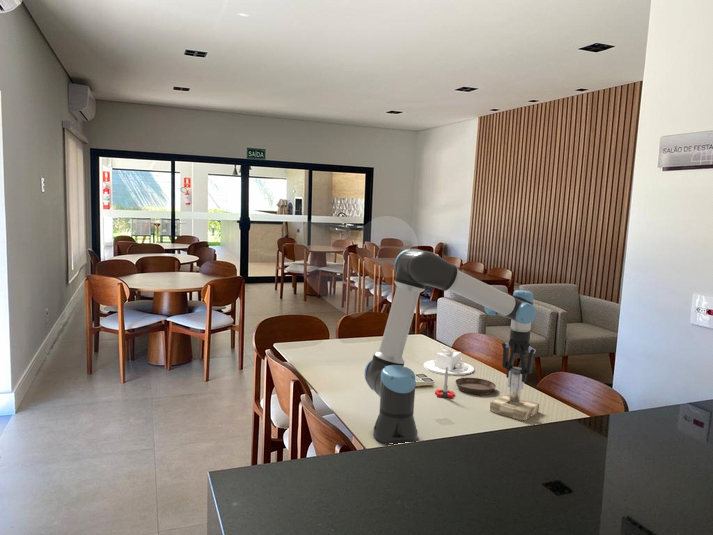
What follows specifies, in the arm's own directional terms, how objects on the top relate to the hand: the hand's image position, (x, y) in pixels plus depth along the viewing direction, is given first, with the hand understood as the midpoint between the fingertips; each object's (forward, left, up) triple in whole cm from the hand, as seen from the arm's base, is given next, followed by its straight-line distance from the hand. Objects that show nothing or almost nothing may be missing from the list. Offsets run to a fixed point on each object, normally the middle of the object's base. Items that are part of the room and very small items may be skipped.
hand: (515, 387), depth 212 cm
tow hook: (-4, +30, -10) cm, 32 cm away
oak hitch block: (0, 0, -10) cm, 10 cm away
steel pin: (0, 0, -5) cm, 5 cm away
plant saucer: (+13, +25, -10) cm, 30 cm away
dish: (+32, +51, -10) cm, 61 cm away
